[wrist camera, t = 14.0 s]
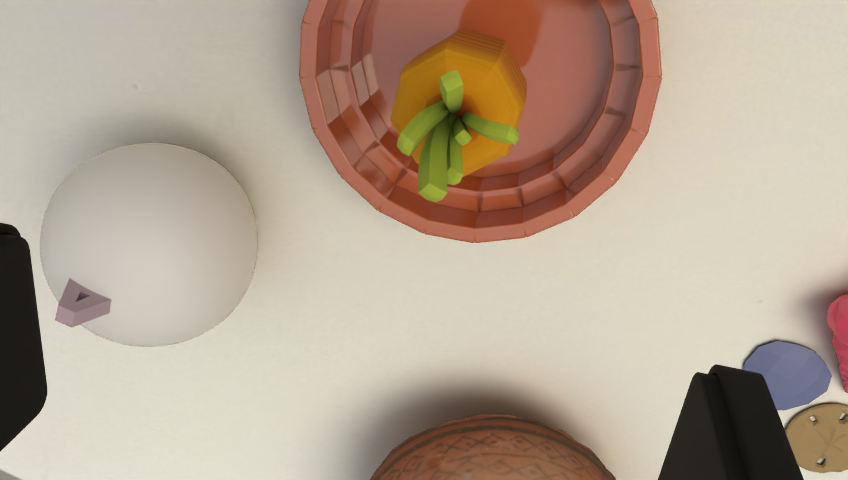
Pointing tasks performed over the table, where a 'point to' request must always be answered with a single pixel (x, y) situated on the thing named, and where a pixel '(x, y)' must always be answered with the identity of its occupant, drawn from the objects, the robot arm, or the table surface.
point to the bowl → (492, 453)
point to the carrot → (458, 108)
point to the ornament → (148, 245)
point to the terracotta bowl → (541, 118)
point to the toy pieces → (809, 393)
